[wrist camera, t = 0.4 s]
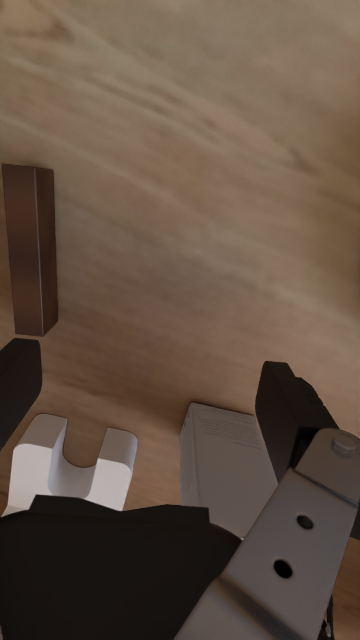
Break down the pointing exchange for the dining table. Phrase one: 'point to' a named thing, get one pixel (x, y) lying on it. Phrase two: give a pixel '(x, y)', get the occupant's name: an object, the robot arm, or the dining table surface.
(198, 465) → the cosmetic box
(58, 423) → the white slotted bracket
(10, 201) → the stick
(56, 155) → the dining table surface
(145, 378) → the dining table surface
